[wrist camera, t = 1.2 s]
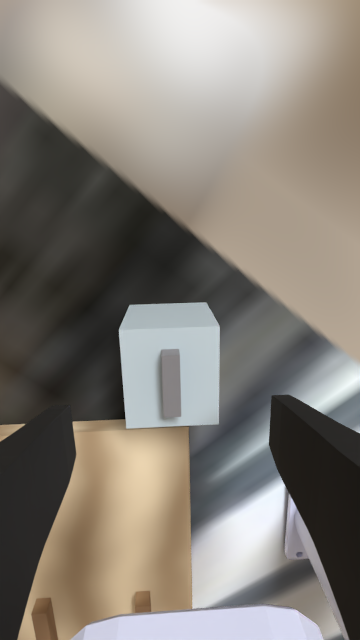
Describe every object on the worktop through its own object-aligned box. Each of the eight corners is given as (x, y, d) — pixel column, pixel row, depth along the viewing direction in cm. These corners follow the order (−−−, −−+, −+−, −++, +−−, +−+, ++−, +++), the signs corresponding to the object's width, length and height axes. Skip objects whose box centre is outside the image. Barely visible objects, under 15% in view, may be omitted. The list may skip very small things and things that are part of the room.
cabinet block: (205, 302, 20) (222, 331, 14) (206, 379, 21) (221, 433, 16) (129, 304, 20) (116, 335, 14) (134, 382, 21) (124, 438, 15)
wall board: (187, 416, 22) (189, 436, 19) (191, 635, 27) (194, 670, 25) (-34, 426, 21) (-56, 449, 19) (15, 648, 26) (2, 685, 24)
